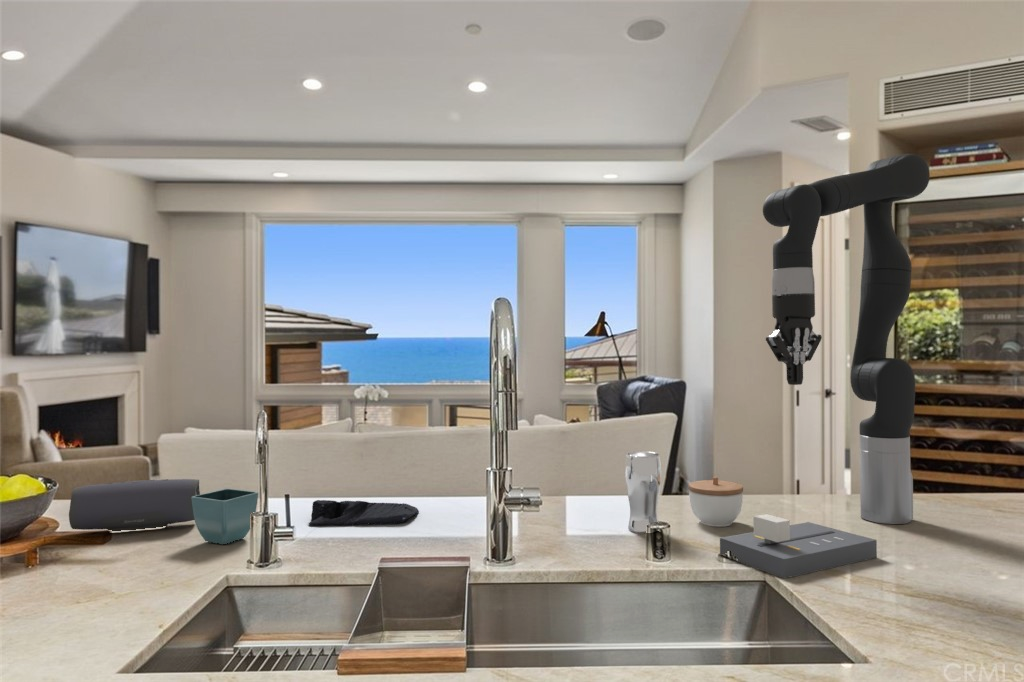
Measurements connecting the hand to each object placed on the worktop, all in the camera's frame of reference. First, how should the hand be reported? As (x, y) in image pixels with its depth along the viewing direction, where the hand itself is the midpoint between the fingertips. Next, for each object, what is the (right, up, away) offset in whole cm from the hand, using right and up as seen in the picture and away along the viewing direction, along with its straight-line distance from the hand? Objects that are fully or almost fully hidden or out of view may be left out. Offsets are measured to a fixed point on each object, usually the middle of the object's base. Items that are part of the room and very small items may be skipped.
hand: (794, 384), depth 135 cm
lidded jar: (-12, -29, +11) cm, 33 cm away
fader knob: (-10, -26, -15) cm, 31 cm away
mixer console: (-4, -29, -13) cm, 32 cm away
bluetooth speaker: (-130, -31, +11) cm, 134 cm away
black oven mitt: (-85, -31, +18) cm, 92 cm away
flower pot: (-108, -30, +1) cm, 113 cm away
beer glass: (-28, -29, +6) cm, 41 cm away
